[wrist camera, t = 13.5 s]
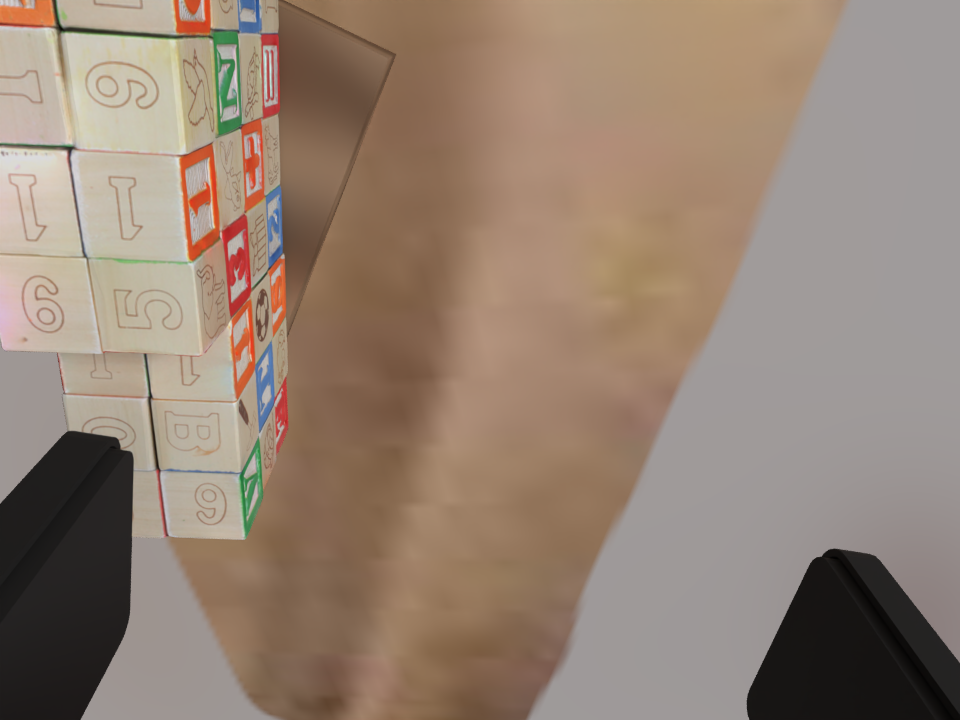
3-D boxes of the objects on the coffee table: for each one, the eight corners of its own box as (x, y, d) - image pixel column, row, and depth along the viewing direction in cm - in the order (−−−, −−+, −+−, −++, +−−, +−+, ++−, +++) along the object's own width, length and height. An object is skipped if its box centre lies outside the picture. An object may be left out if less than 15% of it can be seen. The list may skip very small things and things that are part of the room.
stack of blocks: (293, 429, 38) (224, 598, 27) (166, 423, 38) (41, 591, 27) (277, -55, 30) (166, -105, 18) (113, -68, 29) (-104, -127, 18)
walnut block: (210, -36, 34) (173, -45, 30) (396, 54, 36) (388, 58, 31) (112, 309, 41) (69, 345, 36) (274, 370, 42) (253, 412, 38)
